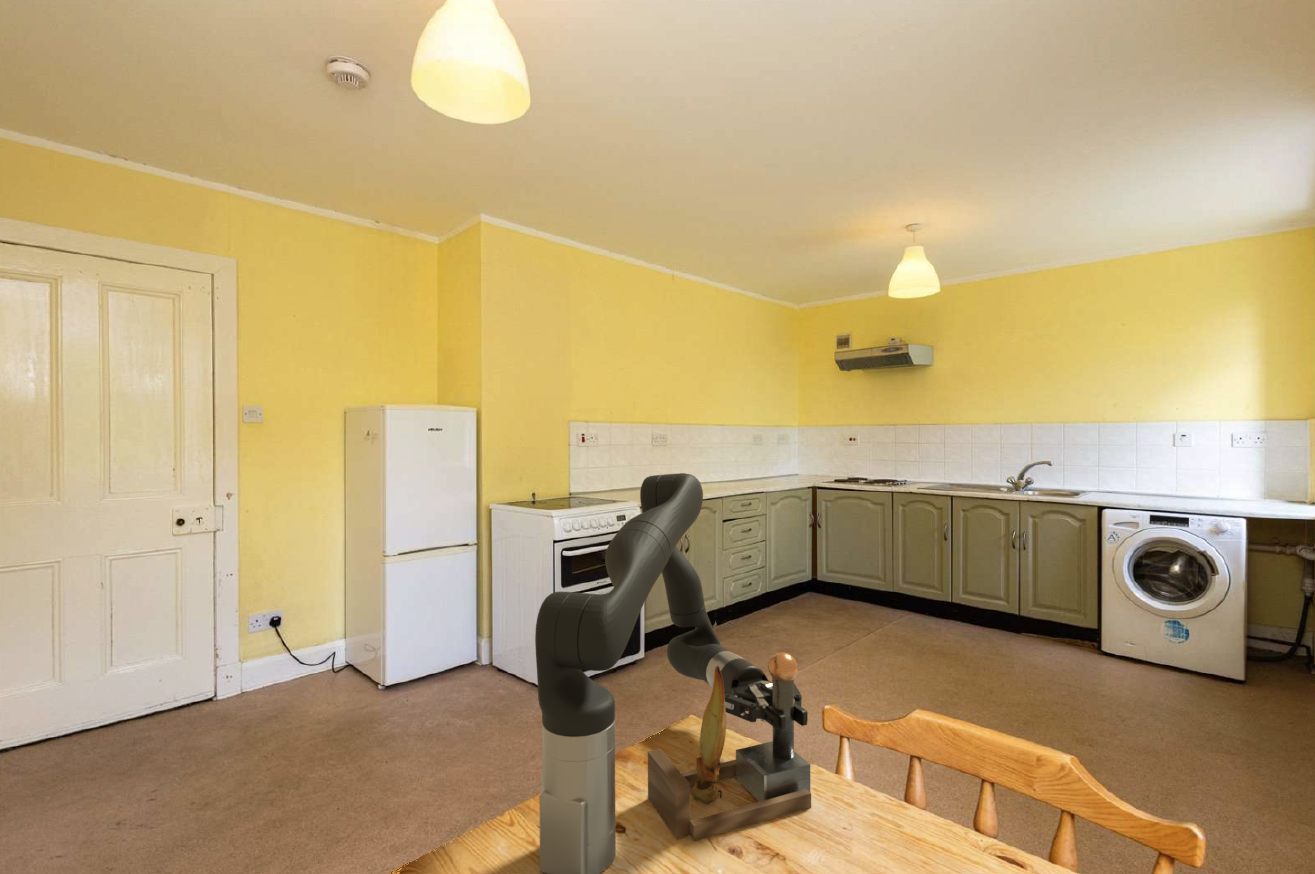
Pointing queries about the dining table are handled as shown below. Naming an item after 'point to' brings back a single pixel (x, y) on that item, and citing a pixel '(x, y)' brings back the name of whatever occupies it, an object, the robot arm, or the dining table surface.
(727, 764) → the frame
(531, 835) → the dining table surface
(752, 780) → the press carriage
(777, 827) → the dining table surface
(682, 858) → the dining table surface
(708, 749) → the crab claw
